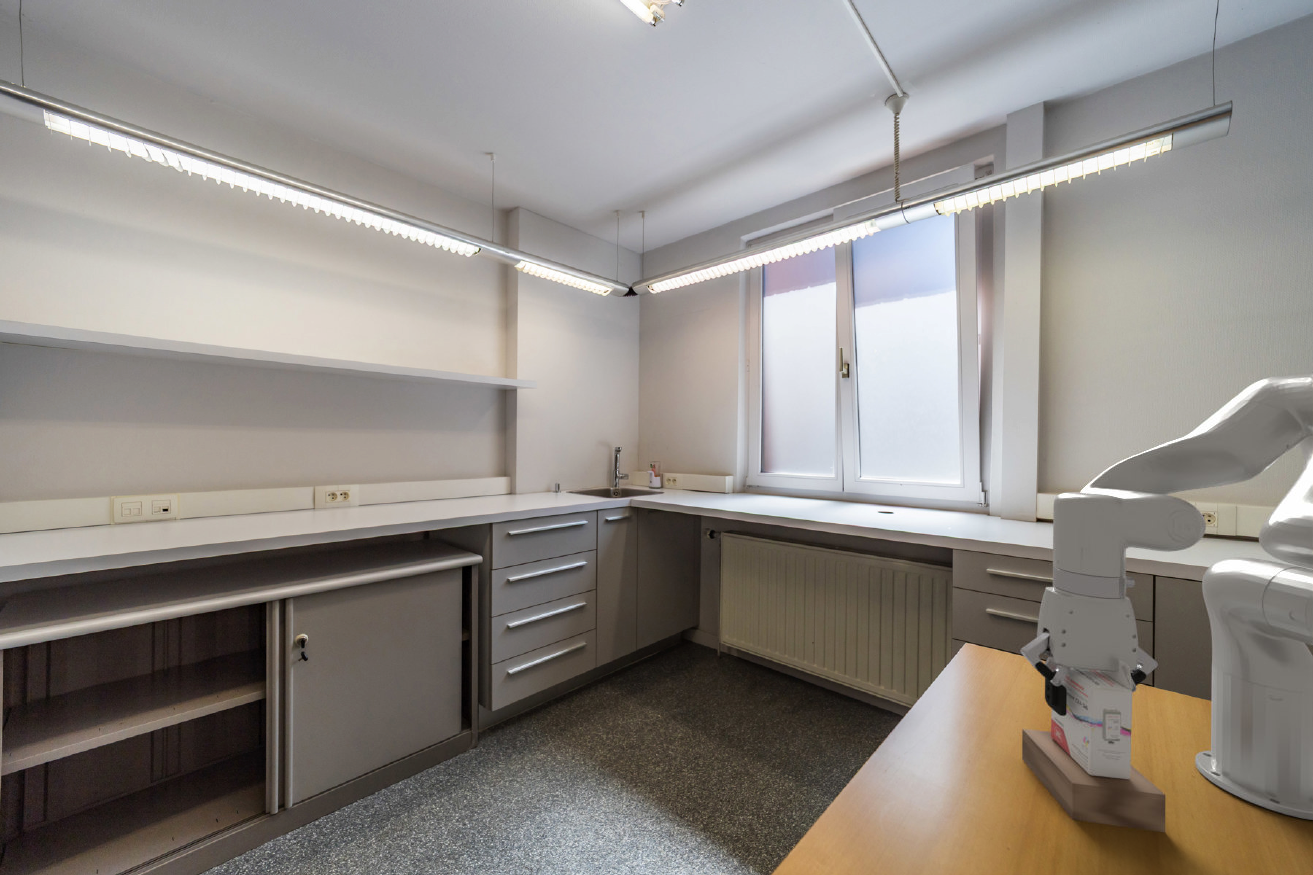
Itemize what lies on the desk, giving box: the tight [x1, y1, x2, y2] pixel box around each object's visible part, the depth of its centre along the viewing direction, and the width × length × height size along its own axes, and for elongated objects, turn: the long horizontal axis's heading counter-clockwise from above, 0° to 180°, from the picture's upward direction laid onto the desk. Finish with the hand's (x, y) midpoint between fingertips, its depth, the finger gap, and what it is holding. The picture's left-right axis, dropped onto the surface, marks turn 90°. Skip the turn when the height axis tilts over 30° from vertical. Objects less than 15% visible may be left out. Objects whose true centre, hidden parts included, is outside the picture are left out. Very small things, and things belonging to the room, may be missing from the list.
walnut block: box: [1021, 728, 1166, 833], centre depth 68 cm, size 10×12×5 cm
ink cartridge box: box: [1050, 661, 1133, 779], centre depth 68 cm, size 9×5×15 cm, turn 171°
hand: (1086, 712), depth 68 cm, fingers open, 6 cm apart
